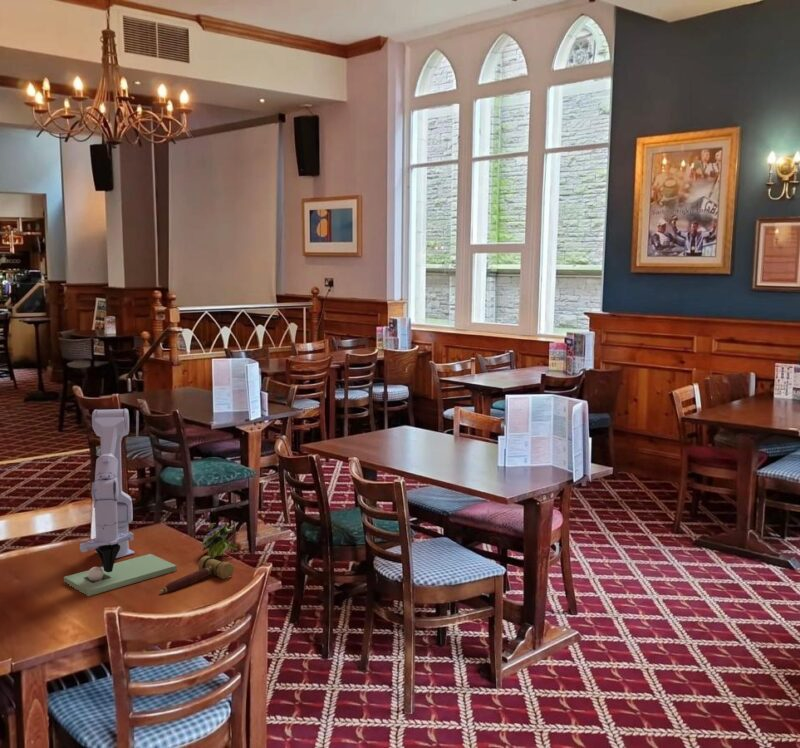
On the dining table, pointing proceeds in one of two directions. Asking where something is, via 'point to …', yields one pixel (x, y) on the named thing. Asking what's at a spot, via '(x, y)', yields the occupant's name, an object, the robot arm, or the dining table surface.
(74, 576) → the putting mat
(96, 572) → the ball
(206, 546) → the passion flower
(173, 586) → the gavel
